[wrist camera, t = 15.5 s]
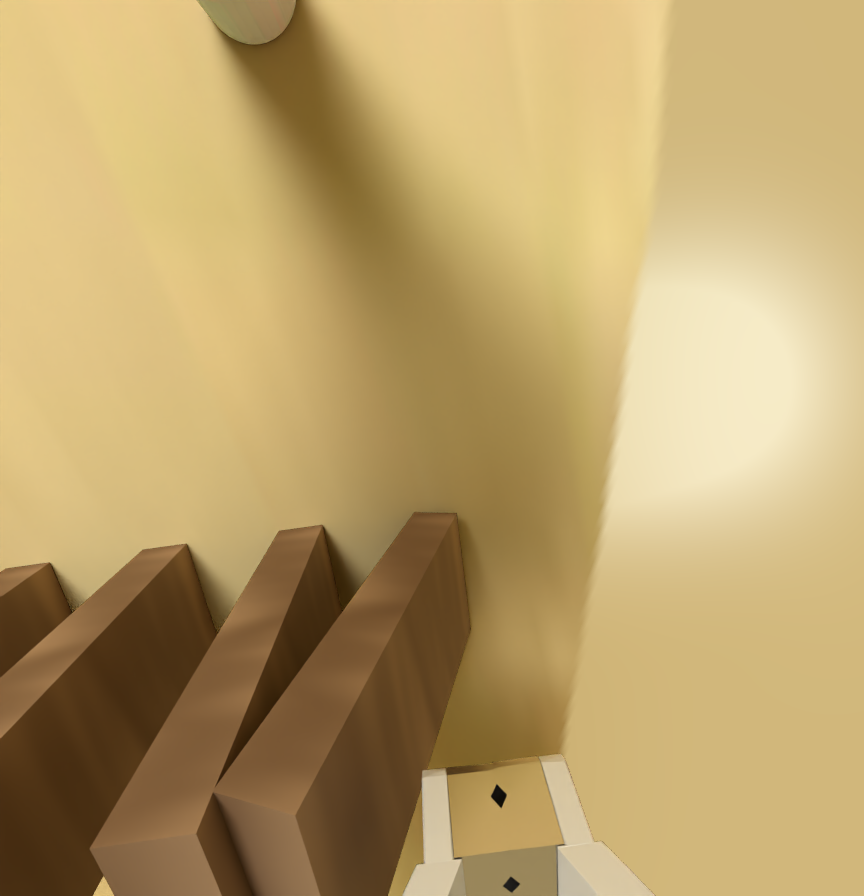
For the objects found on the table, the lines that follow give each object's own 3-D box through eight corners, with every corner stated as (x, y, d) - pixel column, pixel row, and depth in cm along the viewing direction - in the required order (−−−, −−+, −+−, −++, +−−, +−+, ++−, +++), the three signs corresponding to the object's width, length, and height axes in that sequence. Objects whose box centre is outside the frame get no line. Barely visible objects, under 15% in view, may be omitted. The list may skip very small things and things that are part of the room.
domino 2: (322, 525, 16) (195, 833, 7) (347, 636, 18) (274, 1019, 8) (278, 530, 16) (89, 849, 7) (307, 642, 18) (186, 1032, 8)
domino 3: (456, 513, 16) (294, 815, 7) (470, 629, 17) (354, 1003, 8) (414, 512, 16) (211, 791, 7) (431, 624, 18) (281, 972, 9)
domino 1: (186, 543, 16) (-137, 882, 7) (223, 653, 18) (3, 1059, 8) (142, 549, 16) (-245, 897, 7) (183, 659, 18) (-84, 1072, 8)
